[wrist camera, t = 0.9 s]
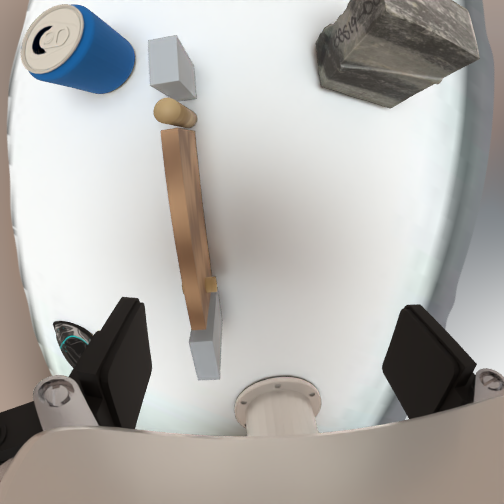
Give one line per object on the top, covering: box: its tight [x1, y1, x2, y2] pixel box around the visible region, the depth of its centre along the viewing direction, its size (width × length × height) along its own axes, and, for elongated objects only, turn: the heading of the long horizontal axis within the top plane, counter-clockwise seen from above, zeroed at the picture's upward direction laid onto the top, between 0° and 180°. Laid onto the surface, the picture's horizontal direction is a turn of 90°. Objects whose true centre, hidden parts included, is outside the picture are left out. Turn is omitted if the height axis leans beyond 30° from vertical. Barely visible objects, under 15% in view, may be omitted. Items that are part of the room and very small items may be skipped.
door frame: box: [148, 35, 222, 380], centre depth 26 cm, size 28×2×10 cm, turn 4°
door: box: [154, 98, 217, 330], centre depth 26 cm, size 18×3×10 cm, turn 4°
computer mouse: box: [53, 321, 92, 368], centre depth 35 cm, size 6×12×4 cm, turn 46°
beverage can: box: [21, 4, 135, 94], centre depth 19 cm, size 6×6×12 cm
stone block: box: [316, 0, 480, 108], centre depth 19 cm, size 9×14×5 cm
